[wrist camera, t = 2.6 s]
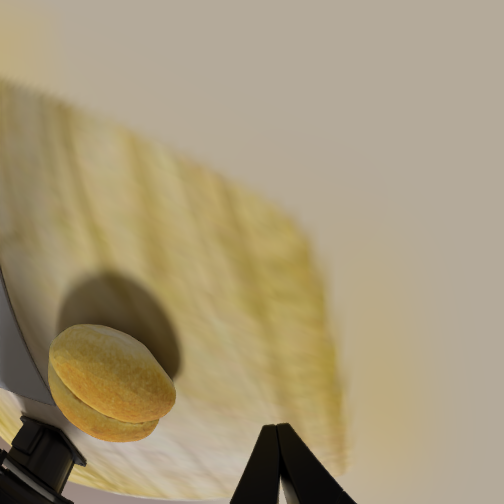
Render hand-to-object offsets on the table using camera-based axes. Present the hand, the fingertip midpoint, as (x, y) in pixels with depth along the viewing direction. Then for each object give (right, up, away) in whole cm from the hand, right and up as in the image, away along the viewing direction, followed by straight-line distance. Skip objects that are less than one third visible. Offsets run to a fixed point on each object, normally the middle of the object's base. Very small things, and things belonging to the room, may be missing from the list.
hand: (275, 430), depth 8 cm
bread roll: (-10, +1, +7) cm, 12 cm away
